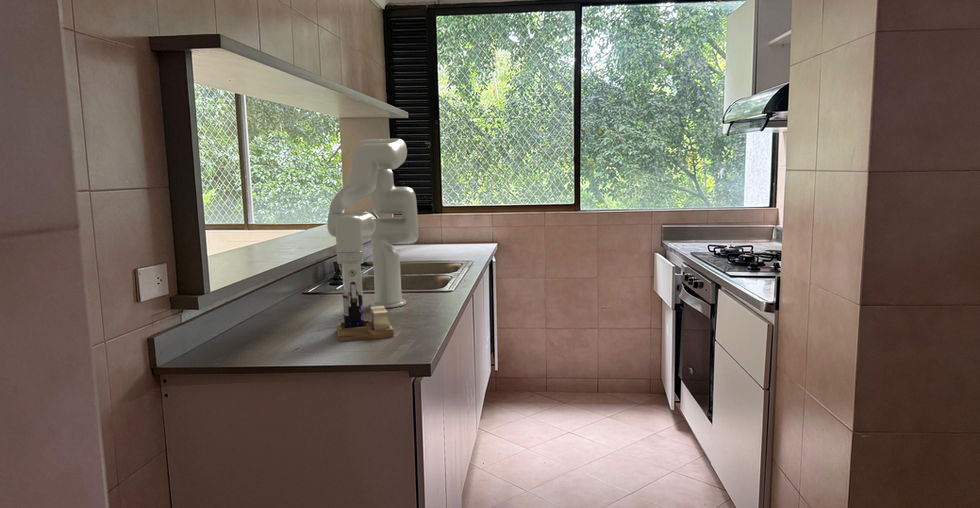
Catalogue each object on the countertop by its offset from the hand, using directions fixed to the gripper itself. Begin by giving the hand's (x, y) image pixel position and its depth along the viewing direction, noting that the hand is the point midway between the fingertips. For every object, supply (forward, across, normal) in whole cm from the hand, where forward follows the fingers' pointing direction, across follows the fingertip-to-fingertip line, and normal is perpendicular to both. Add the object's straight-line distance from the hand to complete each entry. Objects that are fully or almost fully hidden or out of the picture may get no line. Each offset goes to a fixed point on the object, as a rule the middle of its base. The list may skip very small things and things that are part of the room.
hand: (353, 316), depth 193 cm
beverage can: (+4, 0, 0) cm, 4 cm away
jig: (+5, 0, -3) cm, 6 cm away
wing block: (+4, 0, -8) cm, 9 cm away
